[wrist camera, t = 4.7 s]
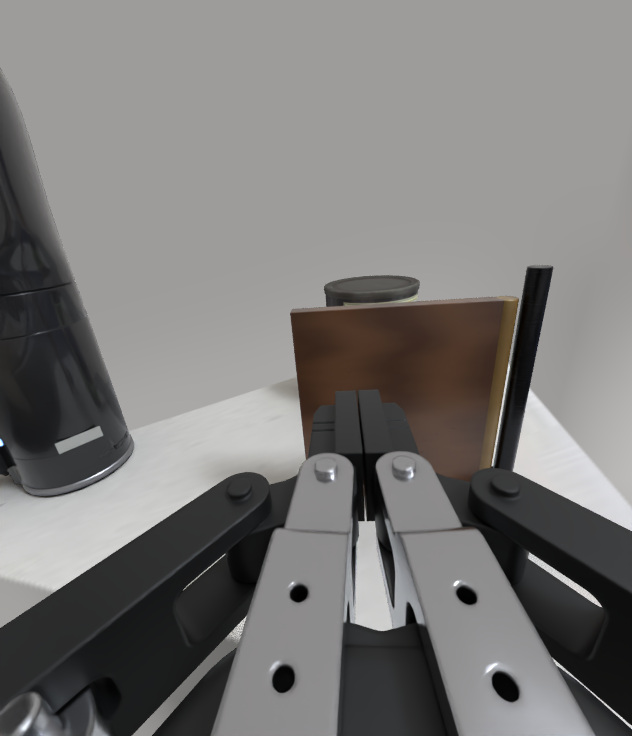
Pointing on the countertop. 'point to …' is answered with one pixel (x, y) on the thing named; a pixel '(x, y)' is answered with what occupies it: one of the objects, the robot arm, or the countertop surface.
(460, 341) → the door
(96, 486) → the countertop surface
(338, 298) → the coffee can
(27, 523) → the countertop surface
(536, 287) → the hinge post
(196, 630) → the robot arm
